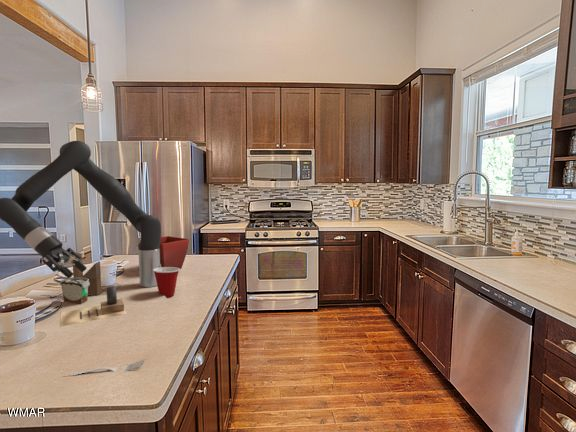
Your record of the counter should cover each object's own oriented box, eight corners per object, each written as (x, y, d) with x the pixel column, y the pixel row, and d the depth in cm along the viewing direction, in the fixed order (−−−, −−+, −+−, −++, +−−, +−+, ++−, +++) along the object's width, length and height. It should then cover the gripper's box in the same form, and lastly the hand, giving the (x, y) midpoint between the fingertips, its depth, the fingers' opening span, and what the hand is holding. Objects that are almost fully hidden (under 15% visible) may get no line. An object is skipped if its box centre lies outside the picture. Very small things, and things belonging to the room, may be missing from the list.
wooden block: (97, 295, 147) (95, 254, 145) (72, 295, 147) (69, 254, 145) (102, 292, 151) (99, 252, 149) (77, 292, 150) (74, 252, 149)
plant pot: (190, 267, 194) (190, 238, 193) (162, 275, 178) (161, 243, 176) (168, 263, 204) (167, 235, 203) (140, 270, 188) (138, 240, 187)
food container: (98, 302, 138) (96, 278, 137) (84, 308, 132) (83, 282, 131) (75, 299, 142) (74, 275, 141) (61, 304, 136) (59, 279, 135)
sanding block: (121, 305, 131) (120, 283, 130) (124, 310, 125) (123, 288, 124) (100, 308, 127) (99, 286, 126) (102, 314, 121) (101, 291, 121)
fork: (43, 376, 86) (43, 369, 86) (146, 364, 92) (145, 357, 92) (37, 383, 83) (37, 376, 83) (144, 370, 89) (143, 364, 89)
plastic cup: (186, 293, 149) (185, 266, 148) (167, 301, 139) (166, 272, 138) (167, 290, 154) (166, 264, 152) (148, 297, 144) (147, 269, 143)
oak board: (122, 305, 134) (122, 302, 134) (127, 317, 123) (126, 313, 122) (61, 316, 124) (61, 312, 124) (60, 330, 112) (60, 326, 112)
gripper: (37, 238, 115) (73, 270, 117) (63, 232, 130) (95, 261, 131) (22, 253, 116) (59, 286, 117) (49, 245, 130) (82, 275, 132)
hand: (78, 273), depth 124 cm, fingers open, 8 cm apart
